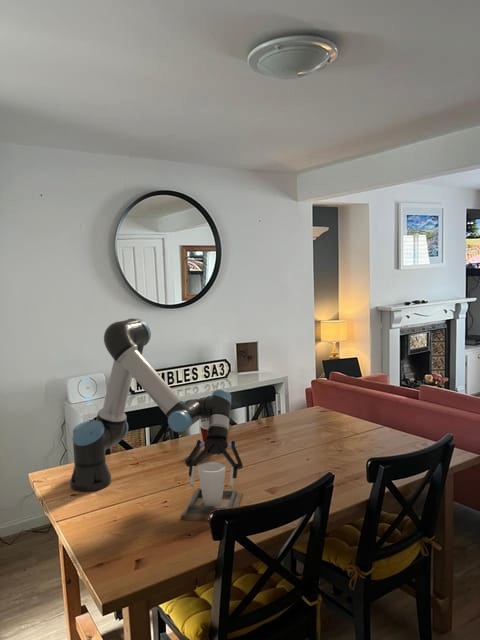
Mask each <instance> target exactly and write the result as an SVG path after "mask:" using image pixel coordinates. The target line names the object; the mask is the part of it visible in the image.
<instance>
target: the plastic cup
mask: <svg viewBox="0 0 480 640" xmlns="http://www.w3.org/2000/svg"><path fill="white" fill-rule="evenodd" d="M208 423H209V420H208V421H202V422H200V423H199V428H200V433H201V436H202V437H201V438H202V442H205V441H206V439H207V431H208ZM203 447H204V449H205V448H206V447H205V446H203Z"/></svg>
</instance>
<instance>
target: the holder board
mask: <svg viewBox="0 0 480 640" xmlns="http://www.w3.org/2000/svg"><path fill="white" fill-rule="evenodd" d="M243 496H244V492H243V491H238V490H237V489H225V488H223V496H222V504H221V505H219V506H205V505H204V503H203V497H202V490H201V487H200V488H196V490H195V489H194V490H193V491H192V494H191V496H190V498H189V500H188V501H187V503H186V505H185V507H184V509H183V511H182V513H181V514H180V520H182V521H201V522H203V521H205V522H207V521H208V518H209V515H210V513H211V512H212V511H214V510H217V509H226V508H233V507H239V508H240V506H241V502H242V499H243ZM208 522H209V521H208Z"/></svg>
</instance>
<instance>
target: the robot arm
mask: <svg viewBox="0 0 480 640" xmlns="http://www.w3.org/2000/svg"><path fill="white" fill-rule="evenodd" d="M151 336H152V332H151V329H150V327H149V325H148V323H146V321H144V320H143V319H141V318H128V319H125V320H121V321H120V320H119V321H115V322H113V323H111V324H110V325H108V327H107V328H106V329H105V330H104V335H103V342H104V346H105V348H106V350H107V353H109V355H110V356H111V358H112V359H113V362H112V363H113V364H112V367H111V371H110V375H109V381H108V383H107V389H106V394H105V397H104V403H103V406H102V408H101V409H99V410H98V412H97V416H96V420H93V419H92V420H87V421H83V422H80V423H79V424H76V426H75V427H73V430H72V447H73V449H72V450H73V460H74V461H73V462H74V467H73V471H72V473H71V478H70V488H71V489H72V490H74V491H76V492H85V493H87V492H94V491H98V490H102V489H103V488H104V489H105V488H106V487H108V486H109V485H110V484H111V483H112V476H111V473H110V469H109V467H108V464H107V461H106V460H107V459H106V450H108V449H110V448H112V447H114V446H116V445H117V444H119V443H120V442H121V441H122V440H124V438H125V437H126V436H127V434H128V432H129V423H128V422H127V421H128V420H127V417H128V416H127V414H126V413H125V410H126V405H127V402H128V397H129V392H130V389H131V386H132V380H133V379H135V381H136V382H137V383H138V385H140V387H141V388H142V389H143V390H144V391H145V392H146V393H147V395H148V396H149V397H150V398H151V400H152V401H154V403H155V404H156V405H157V406H158V407H159V408H160V410H161V411H162V412H163V413H164V414H165V415H166V417H167V424H168V427H169V429H171V430H172V431H173V432H175V433H182V432H184V431H185V430H186V431H187V429H189V428H190V427H191V426H193V425H194V424H195V423H196V422H198V421H199V420H201V419H208V421H209V423H208V431H207V439H206V441H205V442H203V440H202V441H201V440H200V439H198V440H197V442H196V444H195V447H194V448H193V450H192V451H191V453H190V454H189V455H188V457H187V459H186V460H185V462H184V463H185V466H186V467H189V468H188V469H189V470H188V476H189V478H190V482H189V485H190V487H191V488H194V487H195V479H196V474H197V473H196V472H197V468H196V467H197V465H198V466H199V465H200V464H199V463H201V462H202V461H203V460H204V459H205V458H206V457H208V456H209V455H210V454H211V455H212V456H213V455H218V456H220V455H223V456H224V458H226V460H227V461H228V463H229V464H230V465H231V467H230V474H229V475H230V477H229V488H230V490H234V489H233V487H234V480H235V479H237V477H238V470H239V469H243V468H244V465H243V462H242V459H241V457H240V455H239V453H238V449H237V448H236V446H237V445H236V442H235V440H232V441H229V442H228V436H229V425H230V414H231V406H232V394H231V393H230V392H229V391H228V390H225V389H216V390H214V391H213V392H212V394H211V396H210V397H204V398H195V399H194V398H193V399H188V400H184V401H183V400H182V399H181V398H180V397H179V396H178V395H177V394H176V393H175V391H174V390H172V388H171V387H170V386H169V385H168V383H166V381H165V380H164V379H163V378H162V377H161V376H160V374H159V373H158V372H157V371H156V370H155V369H154V367H153V366H152V365H151V364H150V363H149V362H148V360H147V359H146V358H145V357H144V356H143V351H144V347H145V346H147V344H148V343H150V340H151ZM204 446H205V447H206V448H205V447H204ZM203 447H204V449H203V450H202V451H201V452H200V450H201V449H202V448H203ZM228 447H229V448H230V449H232V452H233V455H234V458H235V459H236V462H237V463H236V462H235V460H234V459H233V458H232V456H231V455H230V454H229V452H228V451H227V448H228Z"/></svg>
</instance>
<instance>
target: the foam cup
mask: <svg viewBox="0 0 480 640" xmlns="http://www.w3.org/2000/svg"><path fill="white" fill-rule="evenodd" d="M197 472H198V473H197V474H198V476H199V483H200V489H201V490H202V497H203V503H204V505H205V506H219V505H221V504H222V496H223V489H224V485H225V476H226V464H224V463H222V462H219V461H207V462H203V463H201V464H198V467H197Z"/></svg>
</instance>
